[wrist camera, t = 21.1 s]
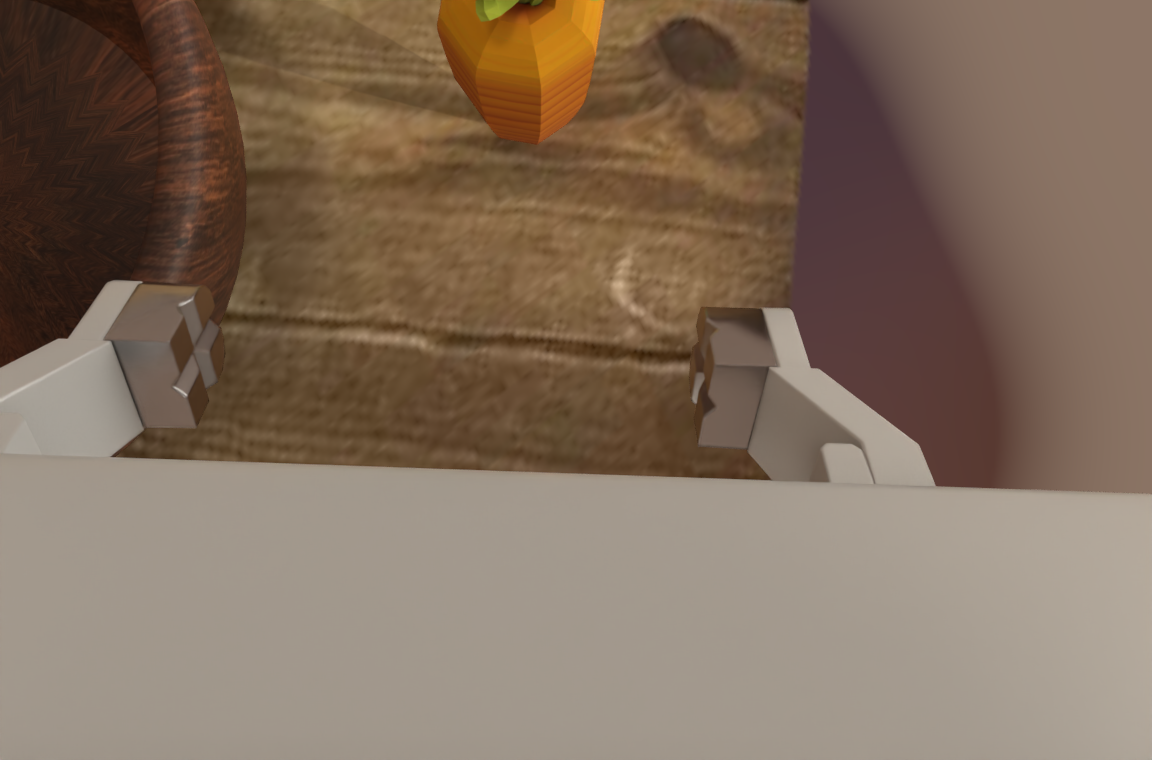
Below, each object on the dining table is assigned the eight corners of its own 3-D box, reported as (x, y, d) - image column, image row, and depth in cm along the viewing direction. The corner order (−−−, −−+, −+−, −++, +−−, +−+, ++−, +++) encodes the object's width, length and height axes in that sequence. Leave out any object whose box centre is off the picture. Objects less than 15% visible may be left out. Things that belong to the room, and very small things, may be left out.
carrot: (574, 54, 36) (596, -213, 21) (602, 173, 36) (646, -10, 21) (452, 80, 35) (388, -172, 21) (480, 200, 35) (434, 34, 20)
